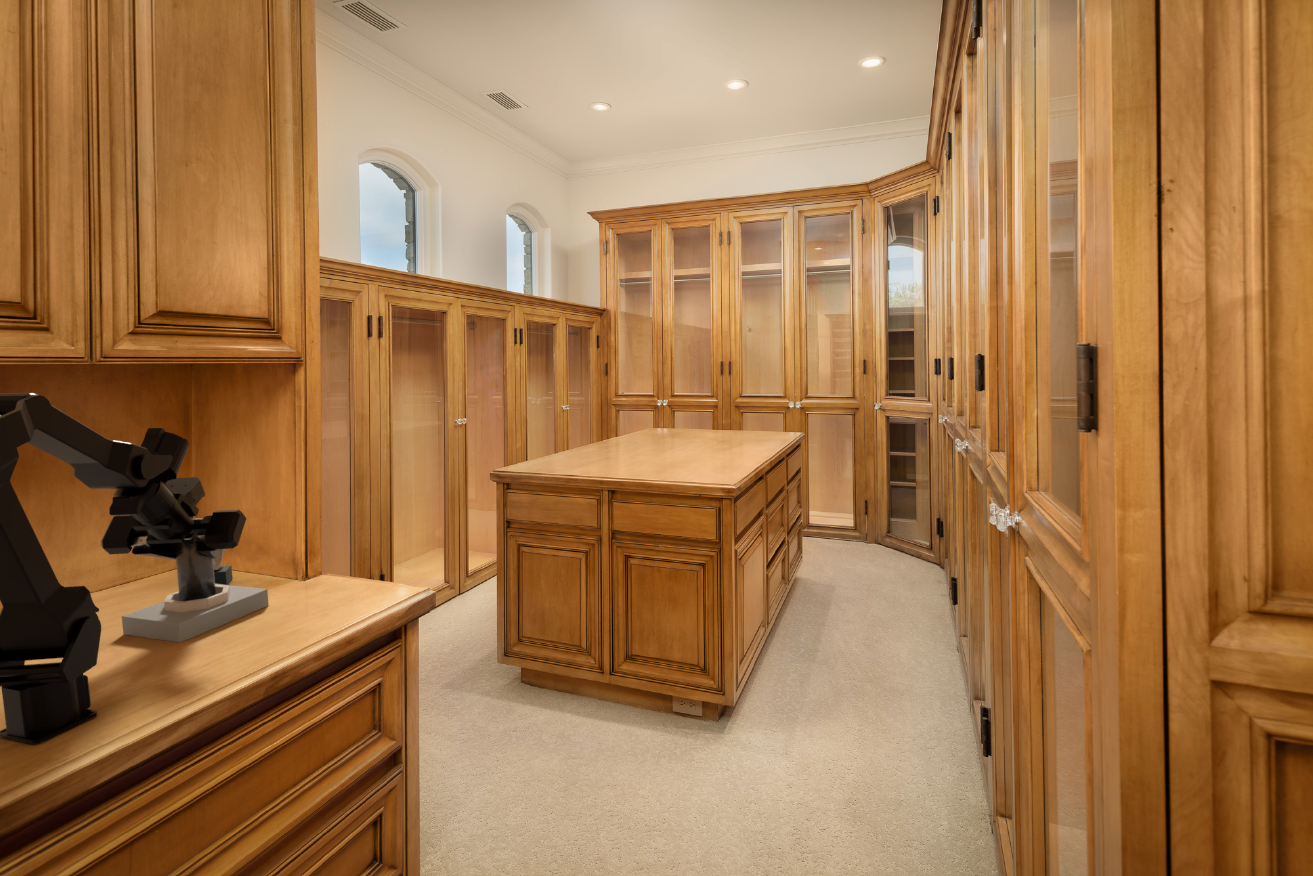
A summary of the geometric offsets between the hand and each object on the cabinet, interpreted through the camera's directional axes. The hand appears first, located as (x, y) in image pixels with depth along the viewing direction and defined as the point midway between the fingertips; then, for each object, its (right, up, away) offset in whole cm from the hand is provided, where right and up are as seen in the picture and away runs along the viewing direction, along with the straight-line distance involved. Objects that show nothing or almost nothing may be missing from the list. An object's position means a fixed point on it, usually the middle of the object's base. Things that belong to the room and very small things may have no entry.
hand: (199, 556), depth 108 cm
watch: (-9, -9, +17) cm, 21 cm away
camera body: (0, -11, 0) cm, 11 cm away
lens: (0, -7, -1) cm, 7 cm away
